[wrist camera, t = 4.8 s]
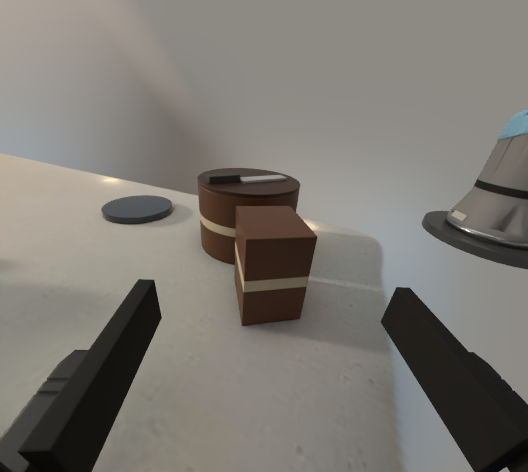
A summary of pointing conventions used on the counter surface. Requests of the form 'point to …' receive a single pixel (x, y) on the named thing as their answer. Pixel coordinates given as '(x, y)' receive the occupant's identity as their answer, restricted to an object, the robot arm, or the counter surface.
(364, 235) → the counter surface
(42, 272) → the counter surface
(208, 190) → the cake
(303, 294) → the cake slice
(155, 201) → the plate
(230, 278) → the counter surface
